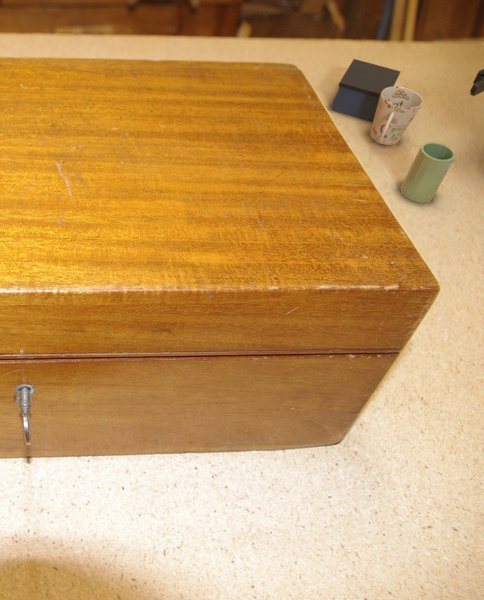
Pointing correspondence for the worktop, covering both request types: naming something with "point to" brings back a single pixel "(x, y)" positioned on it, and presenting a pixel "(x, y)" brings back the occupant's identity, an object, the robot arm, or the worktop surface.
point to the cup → (427, 171)
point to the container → (363, 89)
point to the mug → (394, 114)
